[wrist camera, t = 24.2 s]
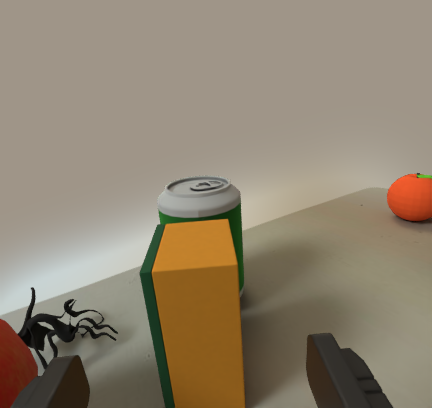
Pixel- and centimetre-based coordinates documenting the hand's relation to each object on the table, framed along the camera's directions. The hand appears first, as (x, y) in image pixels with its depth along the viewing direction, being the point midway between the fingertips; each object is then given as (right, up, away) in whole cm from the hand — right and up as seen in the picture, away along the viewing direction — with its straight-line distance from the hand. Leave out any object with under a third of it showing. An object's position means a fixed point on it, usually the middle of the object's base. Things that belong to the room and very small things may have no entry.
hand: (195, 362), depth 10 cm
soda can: (0, -4, +19) cm, 20 cm away
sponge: (0, -7, +11) cm, 13 cm away
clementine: (+31, +3, +32) cm, 45 cm away
